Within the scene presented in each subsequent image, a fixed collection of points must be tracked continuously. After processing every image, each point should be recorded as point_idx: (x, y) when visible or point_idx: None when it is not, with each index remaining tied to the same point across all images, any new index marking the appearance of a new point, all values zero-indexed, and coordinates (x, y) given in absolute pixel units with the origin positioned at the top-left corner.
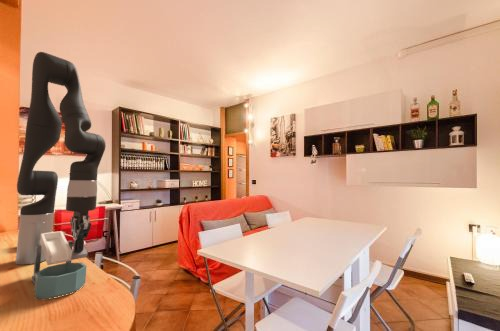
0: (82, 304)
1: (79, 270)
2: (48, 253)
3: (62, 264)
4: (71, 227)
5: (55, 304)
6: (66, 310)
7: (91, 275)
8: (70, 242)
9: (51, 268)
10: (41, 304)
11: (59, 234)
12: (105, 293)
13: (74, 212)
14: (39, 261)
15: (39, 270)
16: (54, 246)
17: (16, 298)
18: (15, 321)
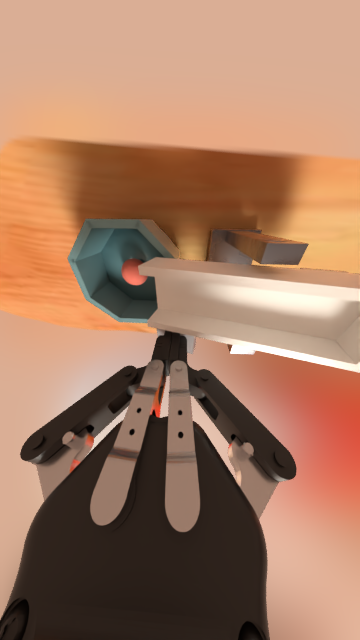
0: (56, 278)
1: (96, 306)
2: (157, 269)
3: None
4: (237, 409)
5: None
6: (41, 254)
7: None
8: (231, 347)
9: None
10: None
11: (346, 353)
12: (84, 311)
13: (223, 602)
14: (238, 246)
15: (230, 244)
16: (267, 306)
17: (154, 178)
18: (19, 163)
